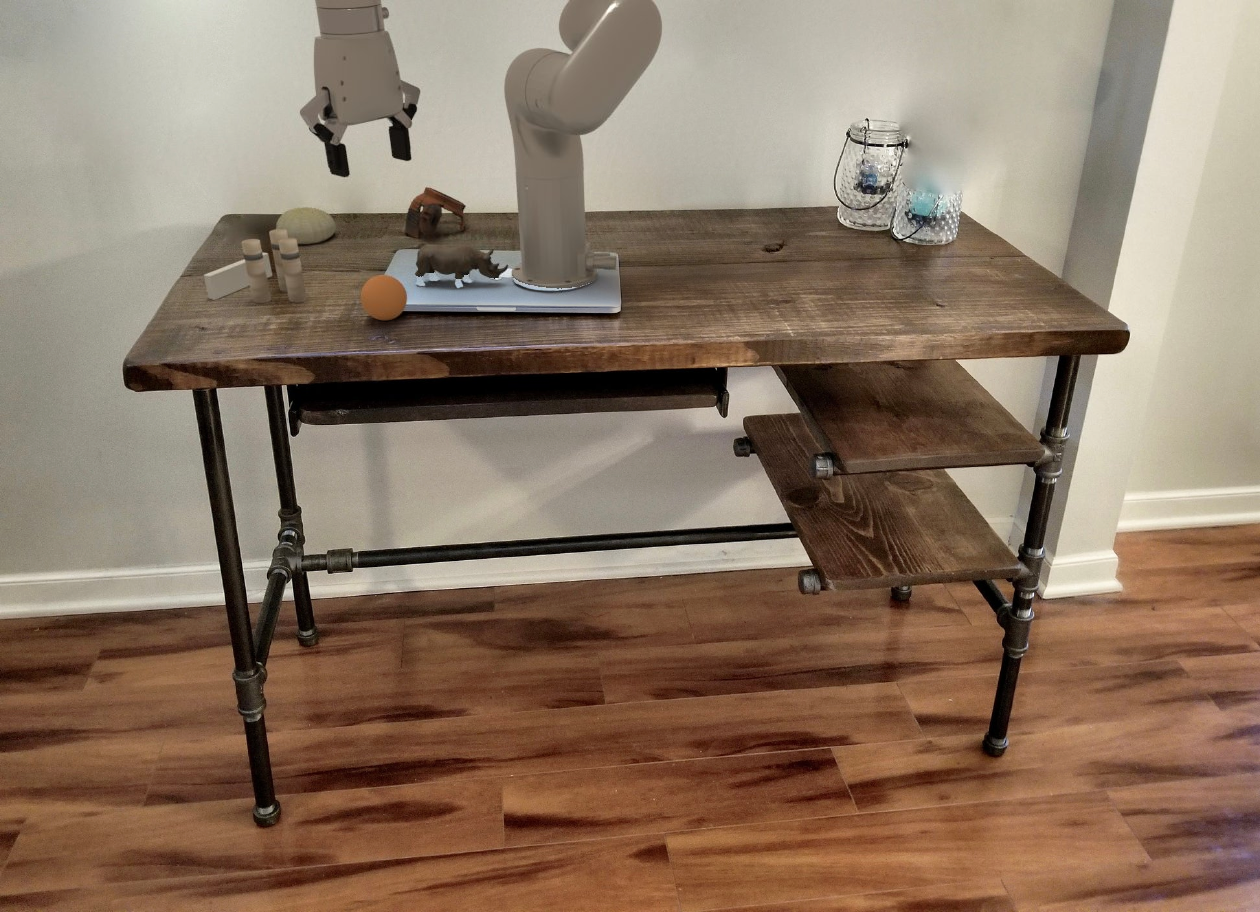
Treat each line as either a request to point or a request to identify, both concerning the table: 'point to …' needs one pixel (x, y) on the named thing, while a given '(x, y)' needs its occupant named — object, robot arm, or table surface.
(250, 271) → the left pin
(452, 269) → the rhino figurine
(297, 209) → the sea urchin shell
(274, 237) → the right pin
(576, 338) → the table surface
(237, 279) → the rail
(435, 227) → the rust brown arched piece
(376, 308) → the ball
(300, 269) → the front pin
